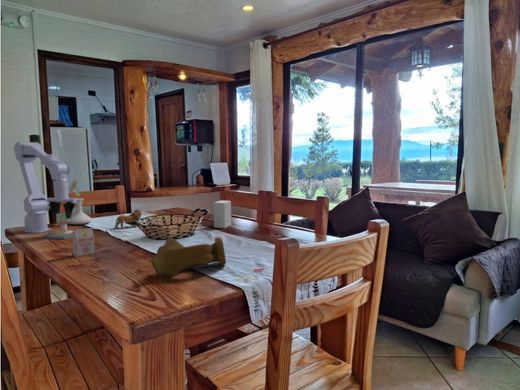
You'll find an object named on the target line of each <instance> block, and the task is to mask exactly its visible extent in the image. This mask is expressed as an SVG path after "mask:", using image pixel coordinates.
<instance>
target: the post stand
mask: <svg viewBox="0 0 520 390" xmlns="http://www.w3.org/2000/svg"><path fill="white" fill-rule="evenodd" d="M73 230H74V229H68V224H67V223H66V222H62V223H60V230H57V231H53V232H50V233H46V234H43V235H42V239H51V240H52V239H54V240H67V239H71V238H73Z"/></svg>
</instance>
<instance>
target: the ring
mask: <svg viewBox="0 0 520 390" xmlns="http://www.w3.org/2000/svg"><path fill="white" fill-rule="evenodd" d="M55 219H56V222H57V223H66V222H69V221H70V219H71V218H68V219H67V218H66V212H64V213H61V212H60V214H56V218H55Z"/></svg>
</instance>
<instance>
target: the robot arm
mask: <svg viewBox="0 0 520 390" xmlns="http://www.w3.org/2000/svg"><path fill="white" fill-rule="evenodd" d="M13 152H14V155H15V158H16V161H17V162H19V166H20V169H21V173H22V177H23V182H24V183H25V187H26V192H27V194H28V195H27V196H26V197H25V198H24V199H23V204H24V205H23V209H24V211H25V213H26V215H25V216H24V218H23V219H24V222H23V223H24V231H23V233H32V234H33V233H34V234H40V233H45V232H48V231H52V230H53V228H50V227H48V217H47V213H48V211H50V209H51V210H52V213H53V215H54V218H55V219H56V214H60V213H61V205H62V206H63V208H64V211H65V212H64V213H66V218H67V219H68V218H70V219H71V218H72V214H73V210H74V208H75V206H76V203H77V199H76V198H73V197H69V186H68V185H69V184H68V175H69V173H70V166H69V164H68V163H67V162H61V161H60V160H59V159H57V158H56V157H55V156H54V155H53V154H48V153H46V151H44V150H43V149H42V145H41V144H40V143H39V142H37V141H35V142H31V141H29V142H23V141H22V142H21V141H17V142H16V143H14V146H13ZM37 159H39V160H41V164H42V165H43V166H44V167H46V168H47V169H48V171H49V174H50V176H51V180H52V182H53V193H54V197H47V196H46V195H45V194H44V193H41V190H40V186H39V183H38V180H37V175H36V173H35V168H34V165H33V162H35V161H36V160H37Z"/></svg>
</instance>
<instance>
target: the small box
mask: <svg viewBox="0 0 520 390" xmlns="http://www.w3.org/2000/svg"><path fill="white" fill-rule="evenodd" d="M213 224H214V225H213V228H220V229H226V228H228V227H230V226H232V201H231V200H217V201H214V202H213Z"/></svg>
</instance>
